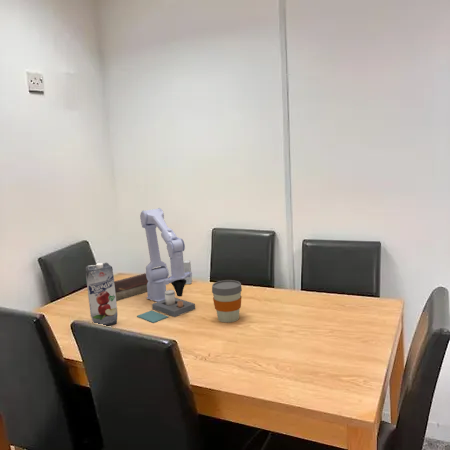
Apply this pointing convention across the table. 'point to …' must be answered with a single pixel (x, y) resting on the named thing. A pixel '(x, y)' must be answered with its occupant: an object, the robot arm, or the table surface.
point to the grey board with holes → (173, 307)
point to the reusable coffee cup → (227, 299)
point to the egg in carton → (180, 304)
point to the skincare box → (187, 269)
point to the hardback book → (130, 286)
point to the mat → (152, 316)
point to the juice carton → (101, 293)
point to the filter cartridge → (170, 297)
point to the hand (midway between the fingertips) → (179, 295)
